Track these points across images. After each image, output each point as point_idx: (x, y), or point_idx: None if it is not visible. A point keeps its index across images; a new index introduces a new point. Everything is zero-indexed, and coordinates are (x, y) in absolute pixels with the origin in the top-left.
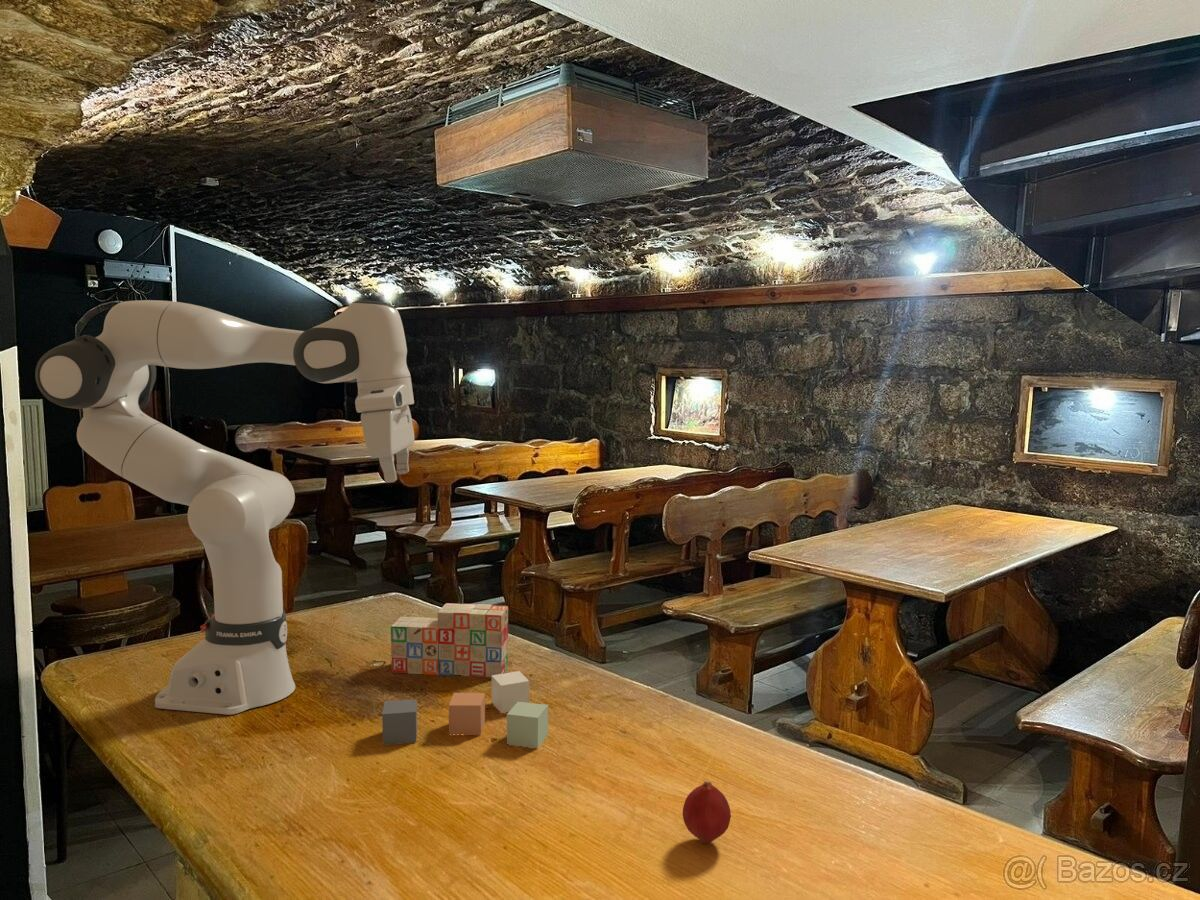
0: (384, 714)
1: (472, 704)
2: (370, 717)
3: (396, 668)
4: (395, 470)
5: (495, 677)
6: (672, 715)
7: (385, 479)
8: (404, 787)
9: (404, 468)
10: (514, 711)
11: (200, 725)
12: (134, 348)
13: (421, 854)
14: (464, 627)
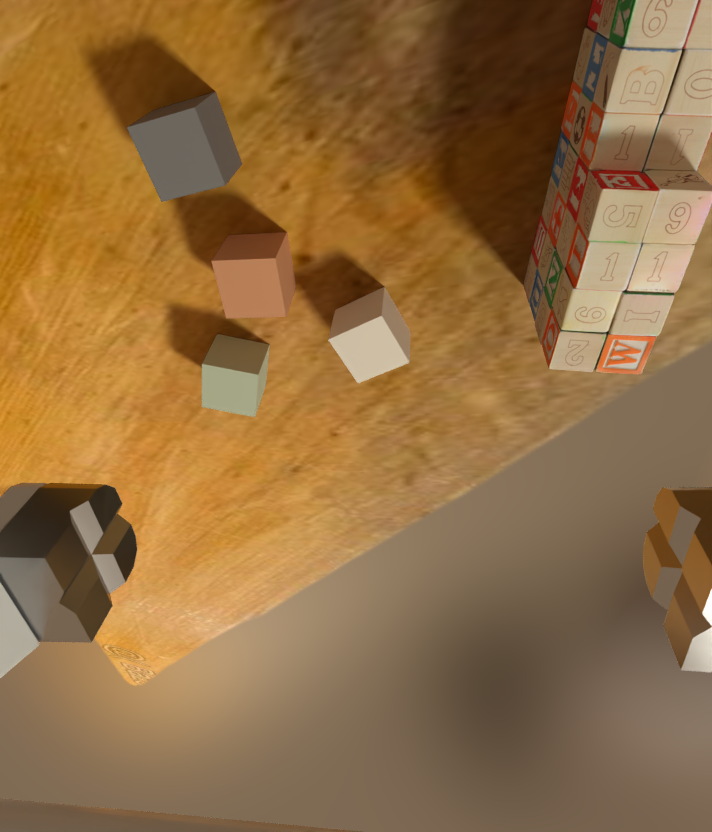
0: (130, 132)
1: (226, 303)
2: (277, 21)
3: None
4: (59, 640)
5: (370, 324)
6: (356, 518)
7: (5, 502)
8: (27, 204)
9: (671, 595)
10: (216, 373)
11: None
12: None
13: None
14: (569, 254)
